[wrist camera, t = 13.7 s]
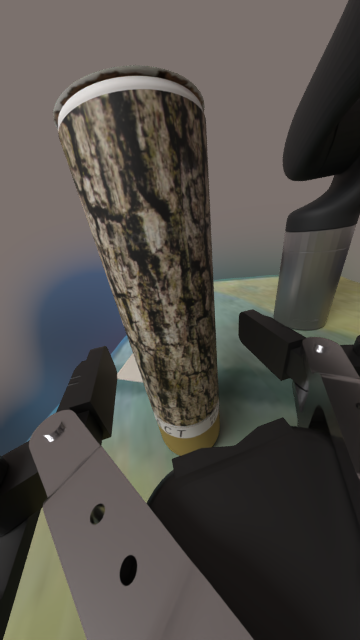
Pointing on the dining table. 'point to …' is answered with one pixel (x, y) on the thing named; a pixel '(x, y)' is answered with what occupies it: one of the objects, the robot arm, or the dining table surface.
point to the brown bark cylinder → (152, 231)
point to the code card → (130, 371)
